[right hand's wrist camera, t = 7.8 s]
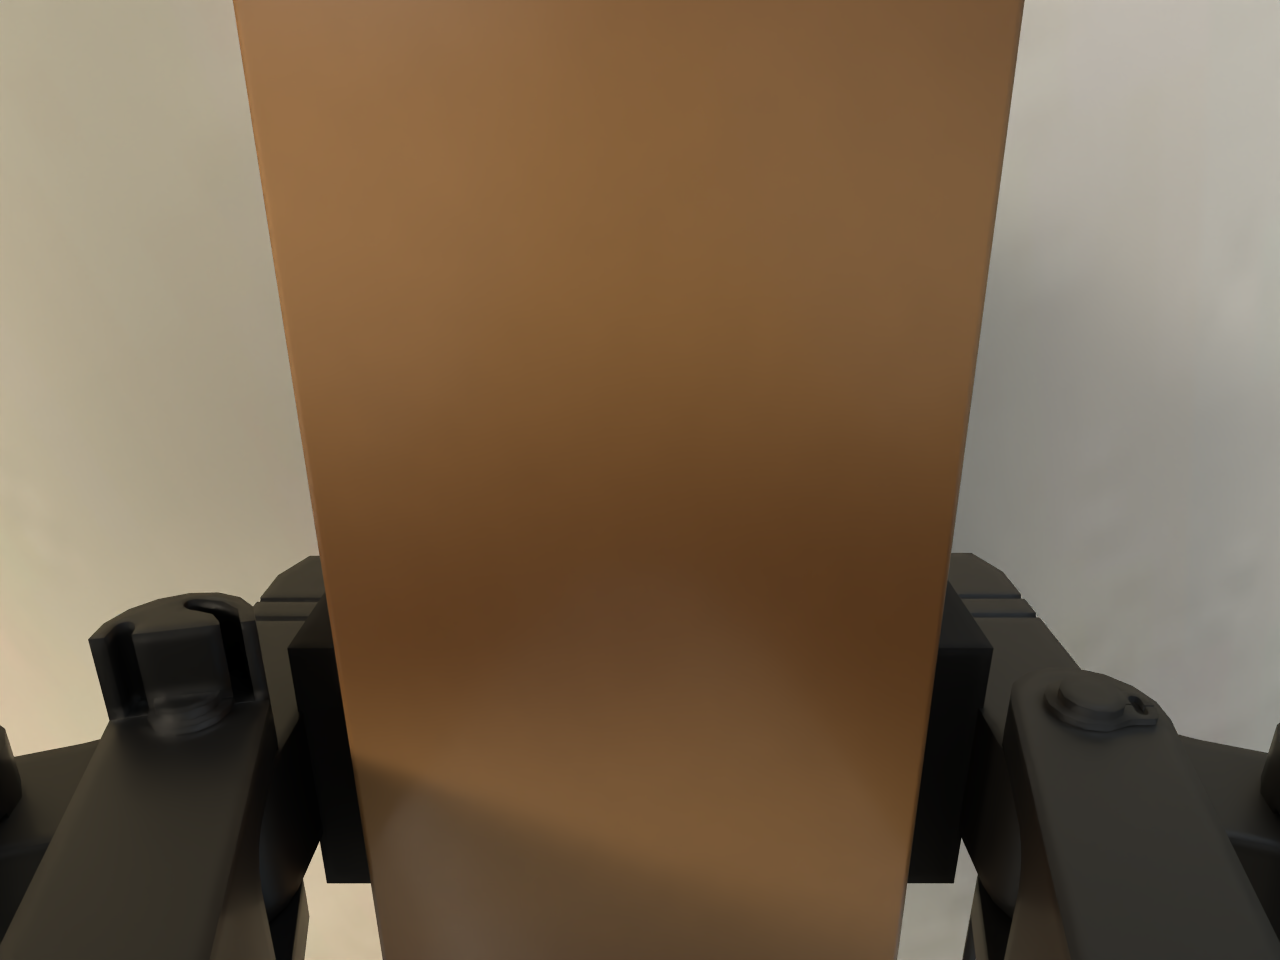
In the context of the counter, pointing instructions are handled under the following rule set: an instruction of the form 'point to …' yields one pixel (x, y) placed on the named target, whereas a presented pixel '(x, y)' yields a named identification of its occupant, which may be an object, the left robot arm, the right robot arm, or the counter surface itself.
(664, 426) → the post
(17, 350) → the counter surface
